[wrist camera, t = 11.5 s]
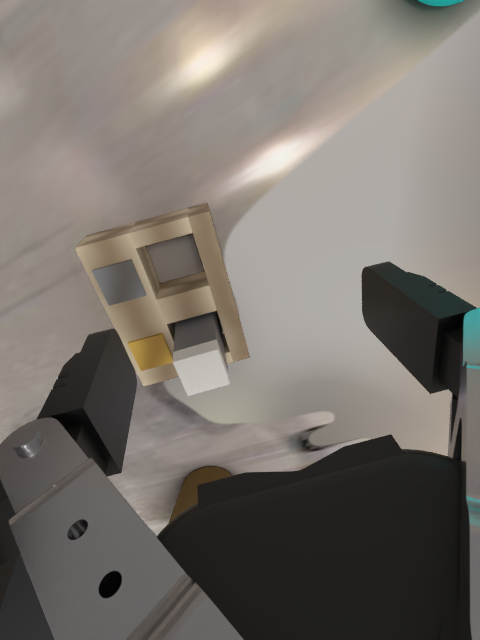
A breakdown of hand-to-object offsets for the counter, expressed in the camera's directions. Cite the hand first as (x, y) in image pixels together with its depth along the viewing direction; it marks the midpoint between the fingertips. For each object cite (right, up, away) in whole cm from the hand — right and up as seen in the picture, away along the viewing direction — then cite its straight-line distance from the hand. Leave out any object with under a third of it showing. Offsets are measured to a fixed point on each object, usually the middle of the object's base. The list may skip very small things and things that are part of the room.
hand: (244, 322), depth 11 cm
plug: (-5, 0, +28) cm, 28 cm away
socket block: (-7, +3, +26) cm, 27 cm away
